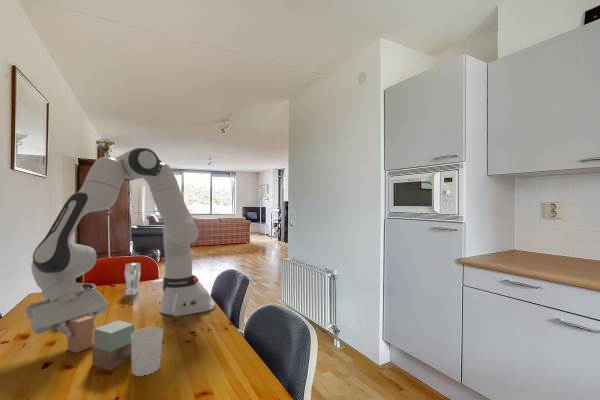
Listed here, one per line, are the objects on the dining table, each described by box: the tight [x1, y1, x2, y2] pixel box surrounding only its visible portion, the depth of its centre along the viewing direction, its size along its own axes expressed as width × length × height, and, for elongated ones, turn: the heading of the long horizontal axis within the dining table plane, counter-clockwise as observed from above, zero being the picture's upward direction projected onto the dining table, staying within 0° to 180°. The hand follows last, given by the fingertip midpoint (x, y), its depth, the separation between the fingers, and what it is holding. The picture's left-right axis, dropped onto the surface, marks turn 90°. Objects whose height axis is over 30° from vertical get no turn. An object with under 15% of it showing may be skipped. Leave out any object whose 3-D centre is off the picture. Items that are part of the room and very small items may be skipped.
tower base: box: [91, 343, 131, 371], centre depth 84 cm, size 7×7×5 cm
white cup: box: [130, 326, 164, 377], centre depth 80 cm, size 8×8×10 cm
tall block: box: [66, 315, 94, 354], centre depth 91 cm, size 4×4×9 cm
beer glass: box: [124, 262, 142, 297], centre depth 148 cm, size 7×7×15 cm
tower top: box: [92, 319, 135, 352], centre depth 84 cm, size 7×7×5 cm
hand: (81, 332), depth 91 cm, fingers closed on tall block, 4 cm apart
